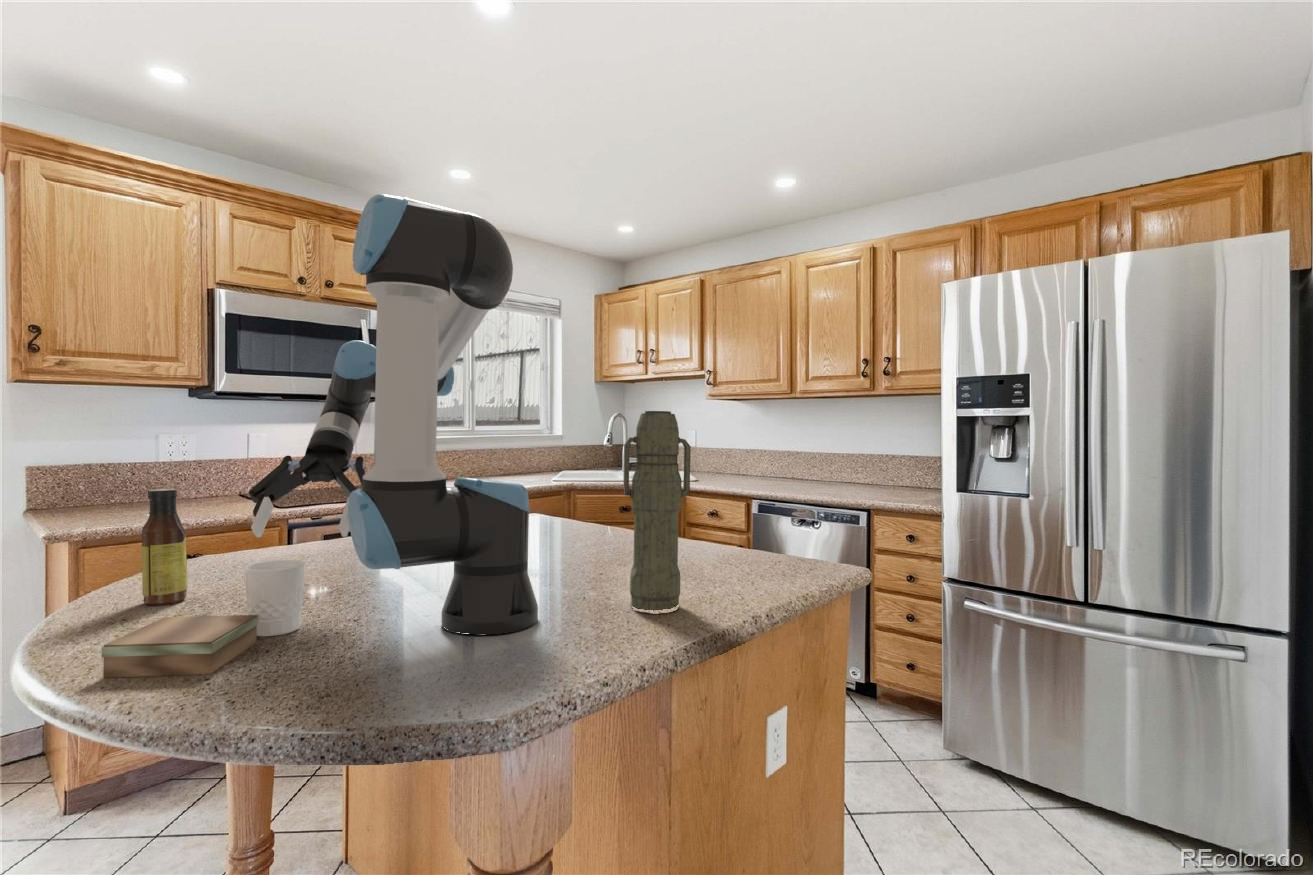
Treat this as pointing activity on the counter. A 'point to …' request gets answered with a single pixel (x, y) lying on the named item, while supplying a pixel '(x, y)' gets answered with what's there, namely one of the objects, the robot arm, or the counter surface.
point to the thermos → (656, 509)
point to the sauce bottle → (163, 551)
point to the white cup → (275, 595)
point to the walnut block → (180, 646)
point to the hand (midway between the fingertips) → (299, 532)
